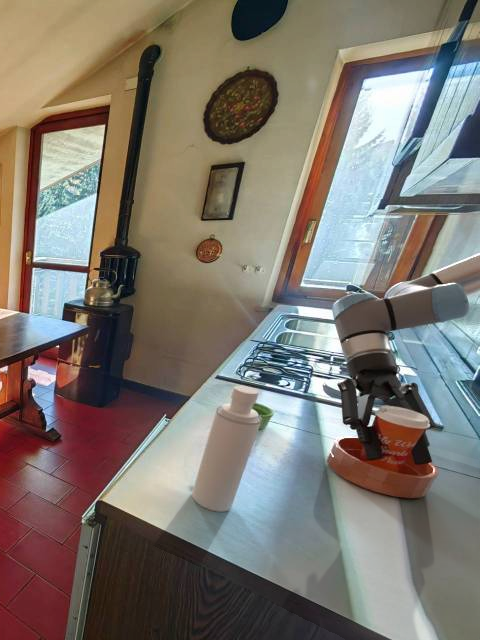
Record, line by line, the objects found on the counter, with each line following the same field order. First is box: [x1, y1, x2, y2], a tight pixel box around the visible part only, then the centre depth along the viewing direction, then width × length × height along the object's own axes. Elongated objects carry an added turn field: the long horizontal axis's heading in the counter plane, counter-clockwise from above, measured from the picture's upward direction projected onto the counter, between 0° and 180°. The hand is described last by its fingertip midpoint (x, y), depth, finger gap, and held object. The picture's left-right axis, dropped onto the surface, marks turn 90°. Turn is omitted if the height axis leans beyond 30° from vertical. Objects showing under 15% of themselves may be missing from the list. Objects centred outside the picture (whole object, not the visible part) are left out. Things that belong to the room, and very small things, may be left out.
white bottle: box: [191, 385, 262, 513], centre depth 70 cm, size 7×7×25 cm
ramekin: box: [252, 402, 275, 430], centre depth 104 cm, size 9×9×4 cm
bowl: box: [326, 435, 439, 499], centre depth 82 cm, size 15×15×6 cm
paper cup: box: [359, 405, 430, 472], centre depth 80 cm, size 8×8×14 cm
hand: (399, 461), depth 77 cm, fingers closed on paper cup, 8 cm apart
